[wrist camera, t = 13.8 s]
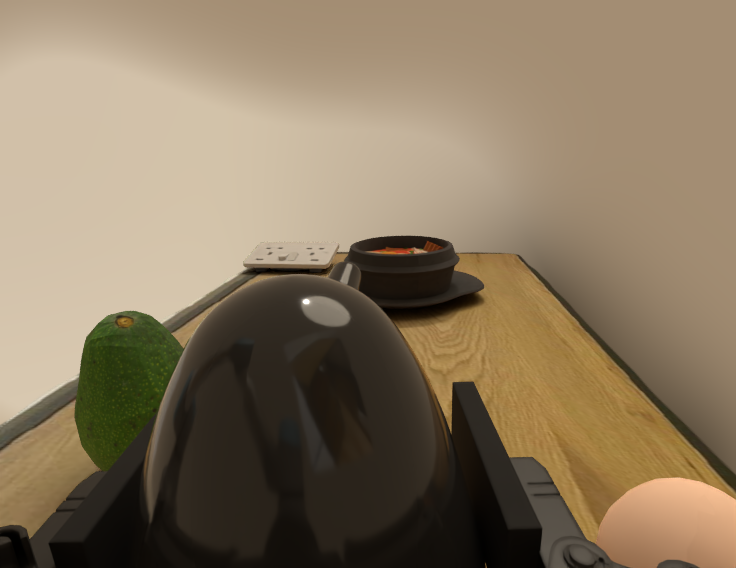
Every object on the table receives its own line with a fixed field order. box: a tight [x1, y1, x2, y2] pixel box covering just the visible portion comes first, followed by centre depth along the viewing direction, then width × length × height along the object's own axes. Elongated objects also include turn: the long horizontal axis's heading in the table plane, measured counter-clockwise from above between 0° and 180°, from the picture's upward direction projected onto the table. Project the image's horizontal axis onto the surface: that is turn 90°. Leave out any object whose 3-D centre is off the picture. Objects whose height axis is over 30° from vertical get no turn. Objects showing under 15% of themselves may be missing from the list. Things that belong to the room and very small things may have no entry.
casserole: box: [344, 236, 484, 309], centre depth 65 cm, size 25×19×8 cm
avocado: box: [75, 311, 183, 471], centre depth 29 cm, size 8×8×12 cm
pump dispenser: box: [127, 262, 486, 568], centre depth 12 cm, size 10×10×15 cm
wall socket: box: [243, 242, 339, 272], centre depth 85 cm, size 18×15×4 cm
